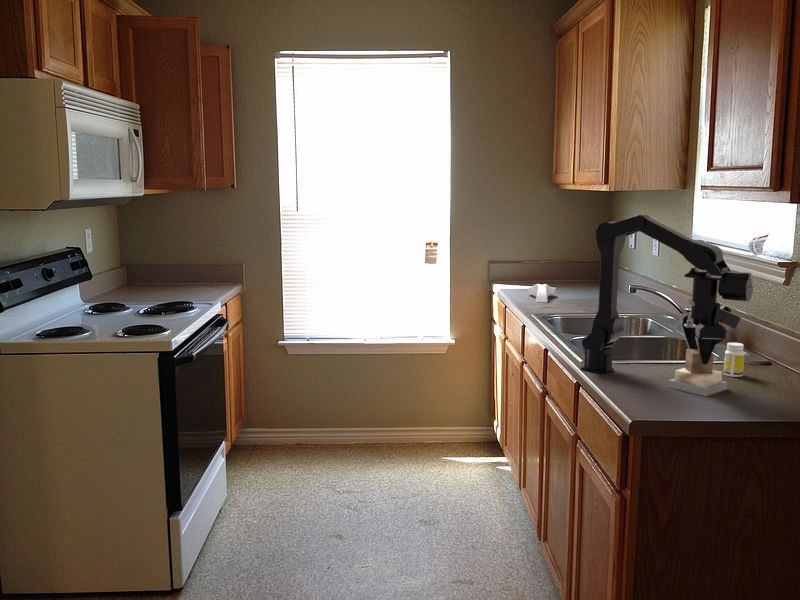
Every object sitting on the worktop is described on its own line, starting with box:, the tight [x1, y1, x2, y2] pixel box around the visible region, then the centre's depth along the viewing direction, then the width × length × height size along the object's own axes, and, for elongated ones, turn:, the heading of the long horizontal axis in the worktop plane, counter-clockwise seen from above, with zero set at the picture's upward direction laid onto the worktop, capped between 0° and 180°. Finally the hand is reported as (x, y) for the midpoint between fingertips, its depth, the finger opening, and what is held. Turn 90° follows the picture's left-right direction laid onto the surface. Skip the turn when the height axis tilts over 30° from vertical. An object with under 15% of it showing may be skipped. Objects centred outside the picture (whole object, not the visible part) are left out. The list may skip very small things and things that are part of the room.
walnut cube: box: [684, 348, 715, 374], centre depth 188 cm, size 5×5×5 cm
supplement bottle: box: [723, 342, 746, 378], centre depth 202 cm, size 5×5×8 cm
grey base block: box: [667, 377, 728, 397], centre depth 189 cm, size 10×10×2 cm
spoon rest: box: [527, 283, 556, 304], centre depth 326 cm, size 24×12×7 cm, turn 172°
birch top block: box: [673, 367, 723, 387], centre depth 188 cm, size 8×8×2 cm
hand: (699, 359), depth 188 cm, fingers open, 9 cm apart
